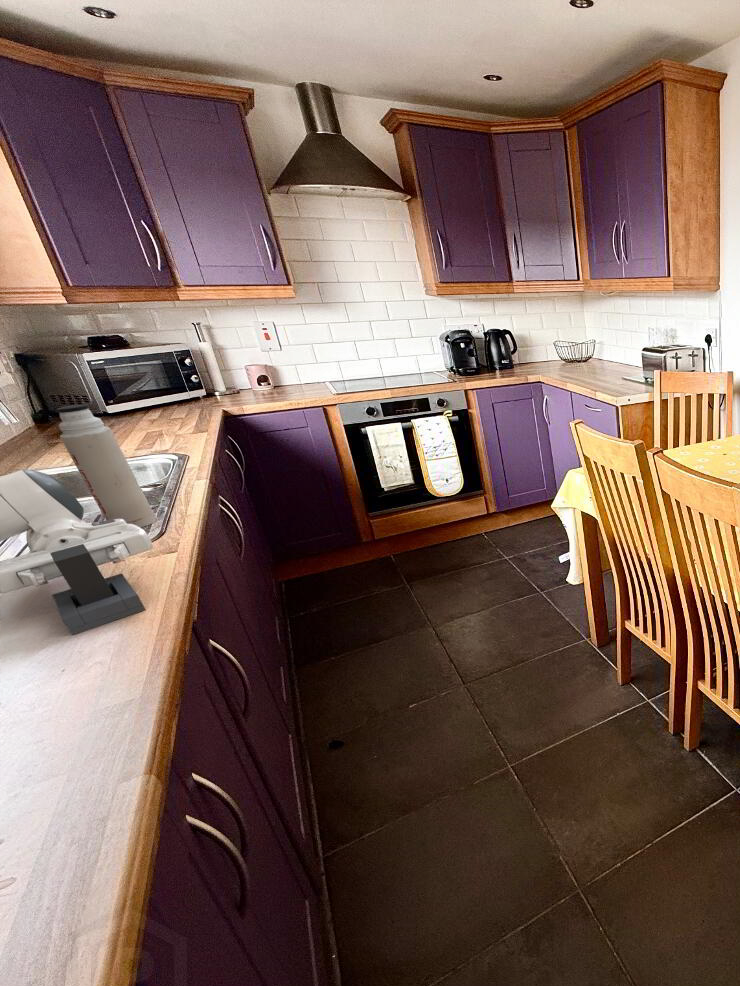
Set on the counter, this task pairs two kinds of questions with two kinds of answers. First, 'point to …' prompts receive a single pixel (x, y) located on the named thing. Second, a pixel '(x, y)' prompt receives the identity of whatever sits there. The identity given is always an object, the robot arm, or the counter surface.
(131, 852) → the counter surface
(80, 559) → the dark grey rectangular block
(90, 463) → the thermos bottle
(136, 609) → the slotted base pad
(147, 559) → the counter surface
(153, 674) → the counter surface
